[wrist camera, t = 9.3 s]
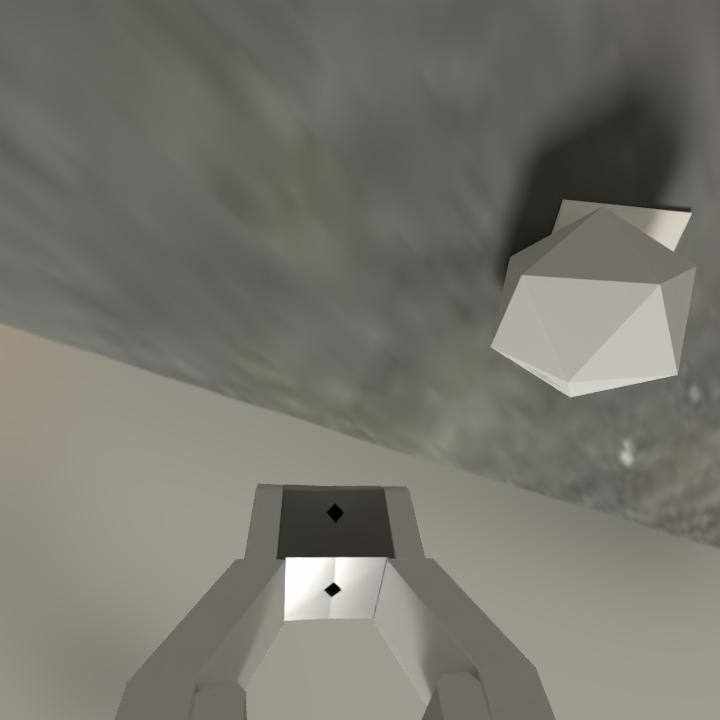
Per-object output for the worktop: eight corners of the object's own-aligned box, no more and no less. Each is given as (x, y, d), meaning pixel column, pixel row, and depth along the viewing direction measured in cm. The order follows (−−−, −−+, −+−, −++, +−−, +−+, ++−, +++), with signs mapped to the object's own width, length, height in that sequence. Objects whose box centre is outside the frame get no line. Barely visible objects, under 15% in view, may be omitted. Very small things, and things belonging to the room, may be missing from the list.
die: (475, 402, 19) (596, 438, 24) (669, 273, 14) (777, 353, 18) (437, 276, 24) (544, 327, 29) (569, 142, 19) (675, 233, 23)
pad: (689, 212, 24) (691, 213, 23) (627, 340, 28) (629, 342, 27) (563, 199, 22) (565, 199, 22) (517, 335, 26) (519, 336, 26)
